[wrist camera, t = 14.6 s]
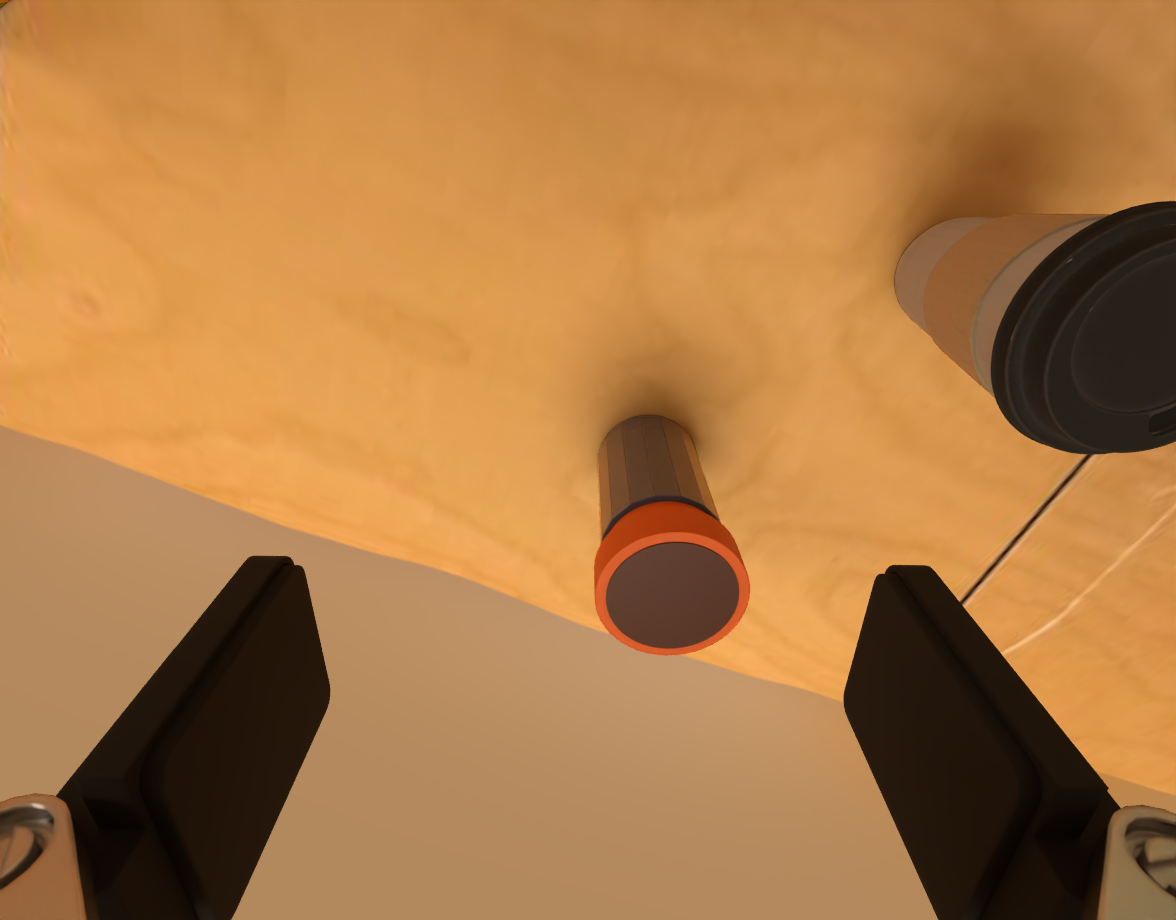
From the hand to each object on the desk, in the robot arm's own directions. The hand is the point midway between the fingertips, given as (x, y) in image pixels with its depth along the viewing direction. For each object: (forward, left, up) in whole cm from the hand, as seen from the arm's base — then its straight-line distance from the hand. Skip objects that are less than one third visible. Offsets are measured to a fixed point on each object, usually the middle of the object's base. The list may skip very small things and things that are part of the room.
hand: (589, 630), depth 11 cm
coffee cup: (-1, +20, -28) cm, 35 cm away
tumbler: (+11, +4, -28) cm, 31 cm away
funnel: (+11, +4, -24) cm, 27 cm away
